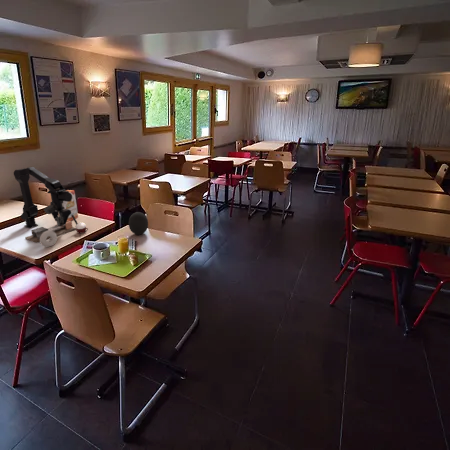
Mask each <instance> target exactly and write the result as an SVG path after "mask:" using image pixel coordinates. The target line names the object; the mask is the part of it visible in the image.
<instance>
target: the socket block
mask: <svg viewBox="0 0 450 450" xmlns="http://www.w3.org/2000/svg"><path fill="white" fill-rule="evenodd" d="M65 226H66V229H70V228H72V227H73V223H72V220H71V221H68V220H67V222H66V224H65Z"/></svg>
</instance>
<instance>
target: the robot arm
mask: <svg viewBox="0 0 450 450" xmlns="http://www.w3.org/2000/svg"><path fill="white" fill-rule="evenodd" d="M31 176H32V177H33V178H35V179H36V180H38V181H39V182H41V183H43V184H44V186H45V188H46V189H47V190H48V191H47V194H50V198H51V201H50V204H49V205H48V206H46V207H44V208H43V212H44V213H45V214H48V215H51V216H52V217H53V219H54V221H55V222H57V220H56V217H59V216H61V217H62V219H63V223H64V224H66V222H67V219H68V217H69V215H70V214H71V210H69V209H65V208H64V207H63V205H62V203H64V202H63V201H67V202H70V201H71V200H72V195H71V193H69V191H66V188H65V187H64V186H63V184H62V183H61V181H59V180H58V179H55V178H51V177H49V176H47V175H46V174H45V173H42V172H41V171H40V170H39V169H36V167H34V166H29V167H27V168H25V167H23V168H18V169H15V170H14V171H13V177H14V178H15V180H16V181H17V182H18V183H19V184H18V185H19V186H20V187H19V188H20V191H21V195H22V200H23V206H22V213H21V215H20V219H21V220H24V222H25V225H24V227H25V228H28V229H31V228H34V227H38V226H39V224H37V223H36V219H35V217H37V216H38V213H39V209H38V205H37V204H35V203H34V202H33V198H32V194H31V190H30V189H31V188H30V185H29V180H30V178H31ZM63 209H64V210H63ZM58 212H59V214H60V215H59V216H58Z"/></svg>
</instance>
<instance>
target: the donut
mask: <svg viewBox="0 0 450 450" xmlns="http://www.w3.org/2000/svg"><path fill="white" fill-rule="evenodd" d="M48 236H50V237H51V238H50V239H48V240H46V238H47V237H48ZM57 241H58V236H57V235H56V233H55V232H53V231H50V230H48V231H45V232H43V233H42V235H41V236H40V242H39V243H40V244H41V245H42V247H46V248H49V247H52V246H54V245H55V244H56V243H57Z"/></svg>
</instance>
